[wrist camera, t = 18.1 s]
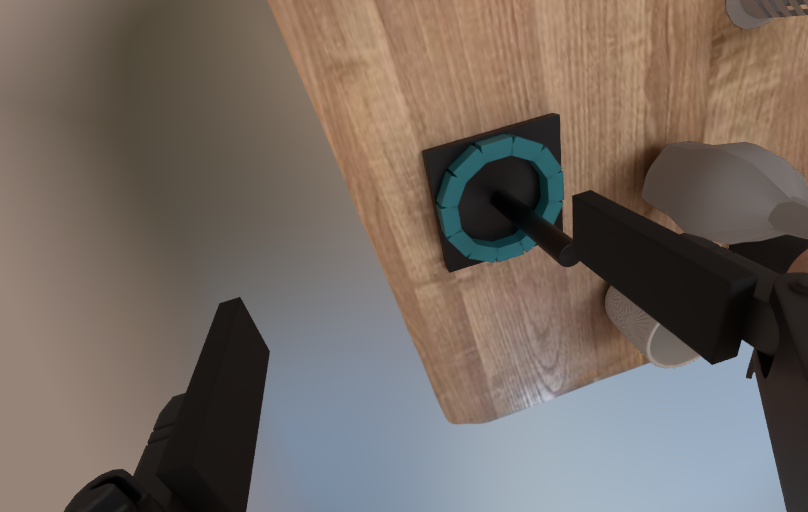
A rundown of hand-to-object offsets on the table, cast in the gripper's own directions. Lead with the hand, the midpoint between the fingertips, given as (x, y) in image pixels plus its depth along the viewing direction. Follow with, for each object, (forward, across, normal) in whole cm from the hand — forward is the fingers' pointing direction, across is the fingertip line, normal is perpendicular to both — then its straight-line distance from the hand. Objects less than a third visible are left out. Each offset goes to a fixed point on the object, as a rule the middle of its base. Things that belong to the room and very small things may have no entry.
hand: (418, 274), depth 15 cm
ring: (+29, +15, -12) cm, 35 cm away
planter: (+31, +35, -34) cm, 58 cm away
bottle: (+31, +37, -15) cm, 50 cm away
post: (+31, +15, -12) cm, 36 cm away
